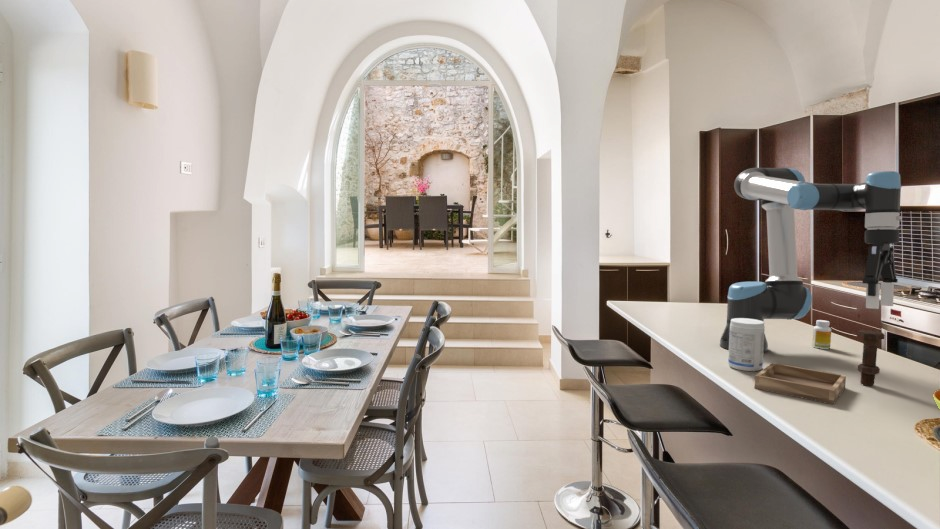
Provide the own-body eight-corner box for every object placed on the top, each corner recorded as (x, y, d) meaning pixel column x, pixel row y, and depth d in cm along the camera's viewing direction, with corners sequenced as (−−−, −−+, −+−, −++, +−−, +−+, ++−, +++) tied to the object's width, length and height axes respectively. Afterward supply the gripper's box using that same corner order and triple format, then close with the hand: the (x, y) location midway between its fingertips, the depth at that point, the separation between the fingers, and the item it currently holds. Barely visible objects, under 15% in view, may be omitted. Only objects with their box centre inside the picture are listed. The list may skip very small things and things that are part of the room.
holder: (771, 374, 160) (772, 362, 159) (845, 388, 148) (846, 375, 147) (754, 388, 147) (755, 375, 146) (833, 404, 134) (834, 390, 134)
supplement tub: (744, 362, 173) (747, 317, 171) (769, 370, 164) (772, 322, 162) (720, 364, 169) (723, 318, 168) (745, 373, 160) (748, 324, 159)
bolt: (883, 388, 148) (887, 334, 146) (862, 387, 149) (866, 333, 147) (871, 382, 153) (876, 330, 152) (851, 381, 154) (856, 329, 153)
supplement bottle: (833, 349, 191) (835, 322, 190) (818, 349, 191) (820, 322, 190) (823, 346, 197) (825, 319, 196) (808, 345, 197) (810, 319, 196)
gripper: (885, 226, 136) (883, 310, 137) (910, 230, 152) (908, 305, 152) (850, 227, 142) (848, 308, 142) (878, 231, 158) (876, 303, 158)
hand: (879, 307), depth 147 cm, fingers open, 13 cm apart
